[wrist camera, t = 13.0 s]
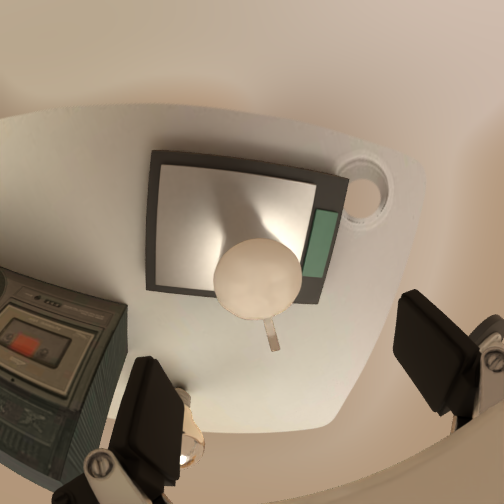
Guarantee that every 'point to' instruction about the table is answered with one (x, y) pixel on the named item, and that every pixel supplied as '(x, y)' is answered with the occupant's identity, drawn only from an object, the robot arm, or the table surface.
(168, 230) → the scale
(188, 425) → the light bulb
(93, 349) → the cassette player
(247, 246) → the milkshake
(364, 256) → the table surface
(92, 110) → the table surface
